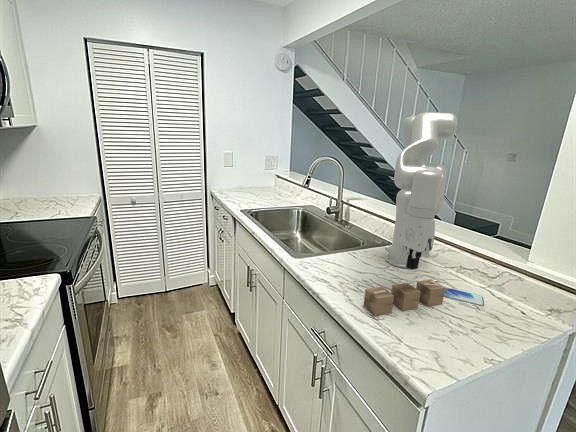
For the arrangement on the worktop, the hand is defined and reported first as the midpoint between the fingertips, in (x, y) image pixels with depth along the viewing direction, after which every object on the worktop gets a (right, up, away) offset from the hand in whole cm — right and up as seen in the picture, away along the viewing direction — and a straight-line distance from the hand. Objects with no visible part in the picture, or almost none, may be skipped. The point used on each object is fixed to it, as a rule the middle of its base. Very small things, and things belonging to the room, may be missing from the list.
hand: (411, 268), depth 99 cm
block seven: (+7, -12, +5) cm, 15 cm away
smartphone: (+20, -12, +9) cm, 25 cm away
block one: (-11, -13, -2) cm, 17 cm away
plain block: (-2, -12, +1) cm, 12 cm away
